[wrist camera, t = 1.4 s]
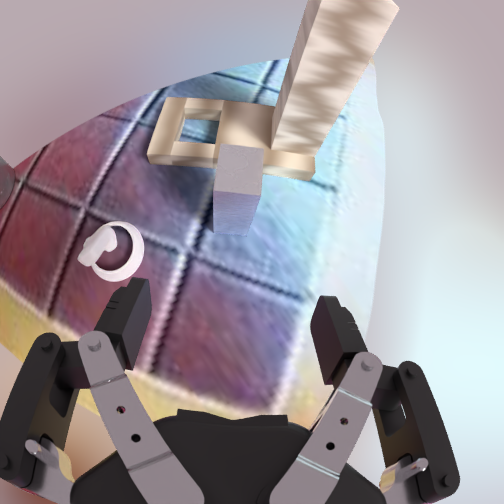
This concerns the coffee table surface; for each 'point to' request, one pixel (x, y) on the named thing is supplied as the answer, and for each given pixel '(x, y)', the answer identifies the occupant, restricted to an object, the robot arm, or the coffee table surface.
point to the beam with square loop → (286, 94)
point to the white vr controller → (108, 242)
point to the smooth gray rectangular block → (237, 188)
